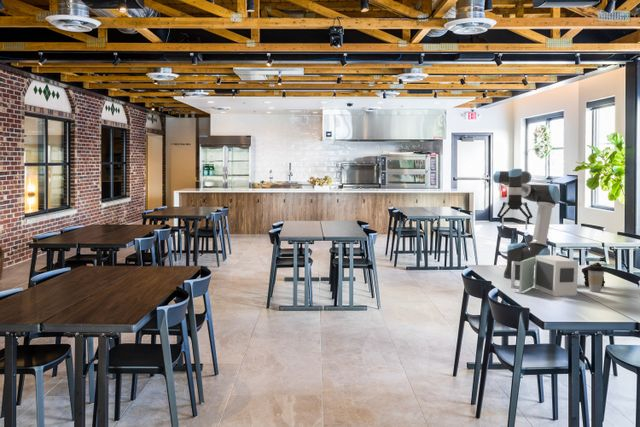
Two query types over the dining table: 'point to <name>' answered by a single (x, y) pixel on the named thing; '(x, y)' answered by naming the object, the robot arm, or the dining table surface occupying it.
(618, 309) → the dining table surface
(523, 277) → the side door
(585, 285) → the dark bumpy flat shape
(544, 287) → the machine housing
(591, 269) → the coffee cup
